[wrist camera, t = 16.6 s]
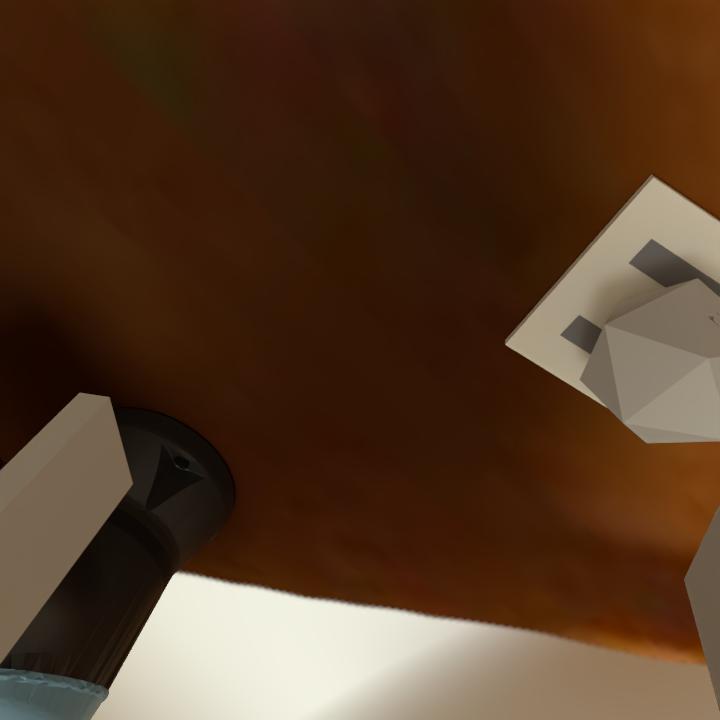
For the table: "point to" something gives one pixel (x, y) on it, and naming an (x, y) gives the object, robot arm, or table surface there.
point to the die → (662, 364)
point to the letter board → (619, 277)
